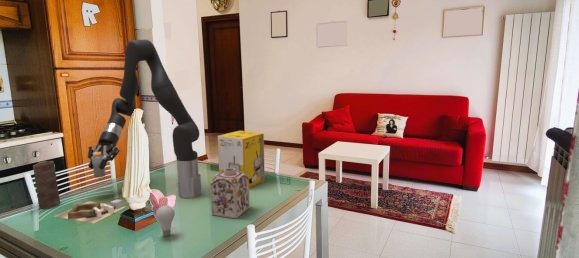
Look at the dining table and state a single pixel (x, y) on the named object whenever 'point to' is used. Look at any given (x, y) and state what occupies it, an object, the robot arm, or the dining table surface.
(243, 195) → the decorative jar
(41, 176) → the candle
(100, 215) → the cable route
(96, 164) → the connector
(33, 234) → the dining table surface
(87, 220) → the board
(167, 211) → the lightbulb
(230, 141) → the packaging box
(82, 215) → the holder
